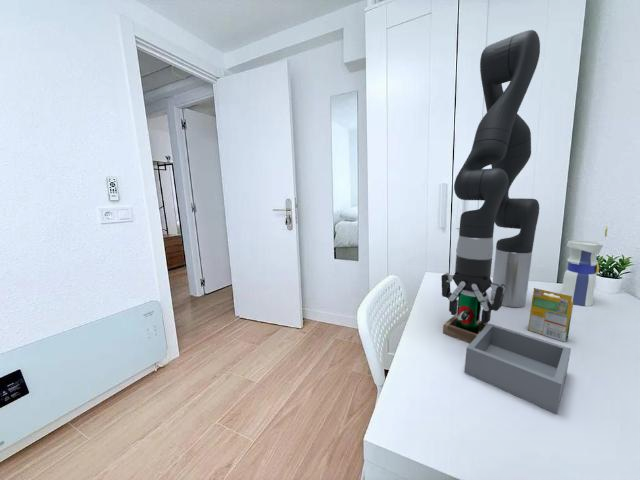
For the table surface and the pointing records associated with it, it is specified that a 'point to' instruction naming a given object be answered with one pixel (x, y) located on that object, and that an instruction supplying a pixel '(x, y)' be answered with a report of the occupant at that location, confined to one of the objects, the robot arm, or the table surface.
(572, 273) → the white plastic bottle
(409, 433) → the table surface
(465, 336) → the frame
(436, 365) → the table surface
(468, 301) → the soda can
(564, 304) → the crayon box
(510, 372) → the bin
